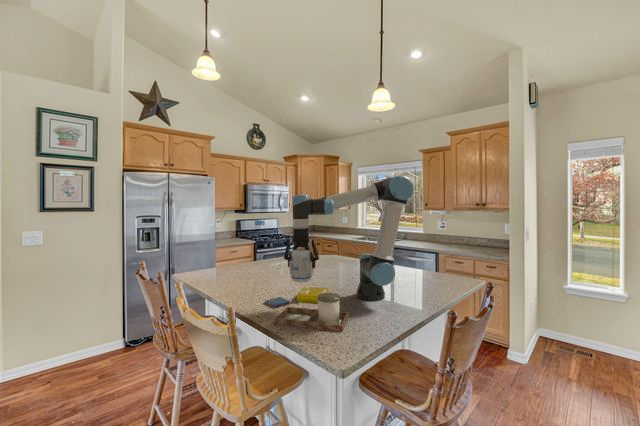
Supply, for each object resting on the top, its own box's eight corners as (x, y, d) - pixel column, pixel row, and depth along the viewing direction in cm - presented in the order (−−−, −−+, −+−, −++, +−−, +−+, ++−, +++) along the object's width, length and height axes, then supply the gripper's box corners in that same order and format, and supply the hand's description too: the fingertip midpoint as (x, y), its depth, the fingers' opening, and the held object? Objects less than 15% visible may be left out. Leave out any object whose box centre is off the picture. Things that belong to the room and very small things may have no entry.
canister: (341, 319, 129) (341, 293, 128) (337, 328, 120) (337, 300, 119) (320, 316, 131) (320, 292, 131) (314, 325, 122) (314, 298, 122)
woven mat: (280, 299, 159) (280, 296, 158) (292, 304, 151) (292, 300, 151) (262, 304, 152) (262, 300, 152) (274, 309, 144) (274, 305, 144)
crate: (348, 319, 131) (348, 312, 131) (342, 333, 117) (342, 325, 117) (287, 313, 138) (287, 306, 138) (274, 325, 124) (274, 318, 124)
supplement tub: (287, 280, 143) (286, 249, 142) (301, 276, 150) (300, 247, 149) (302, 284, 136) (301, 251, 136) (316, 279, 144) (315, 249, 143)
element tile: (324, 305, 150) (324, 295, 150) (296, 303, 153) (296, 293, 153) (330, 295, 165) (330, 287, 164) (303, 294, 168) (303, 285, 167)
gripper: (325, 227, 143) (326, 273, 144) (282, 226, 149) (282, 271, 150) (321, 228, 136) (322, 277, 136) (275, 228, 141) (276, 275, 142)
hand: (301, 274), depth 143 cm, fingers closed on supplement tub, 9 cm apart
